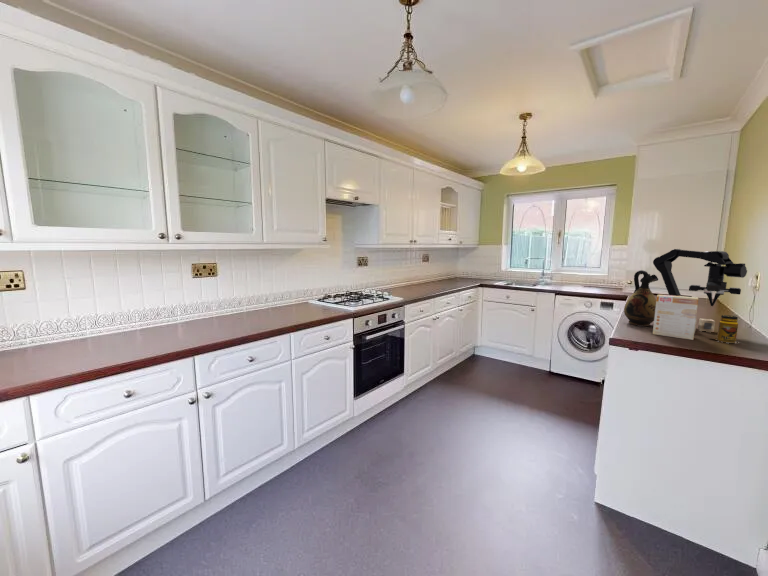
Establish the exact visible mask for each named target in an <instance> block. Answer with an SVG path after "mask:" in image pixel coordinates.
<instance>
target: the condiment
mask: <svg viewBox="0 0 768 576" xmlns="http://www.w3.org/2000/svg"><path fill="white" fill-rule="evenodd" d="M738 319H739V318H738V316H736V315H729V314H722V315H721V317H720V320H719V323H718V330H717V337H716V338H717V340H718V341H717V342H719V341H721V343H723V342H726V343H725V344H729V343H735V342H738V343H737V344H740V343H741V342H739V341H737V335H738V329H739V323H738ZM735 344H736V343H735Z"/></svg>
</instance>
